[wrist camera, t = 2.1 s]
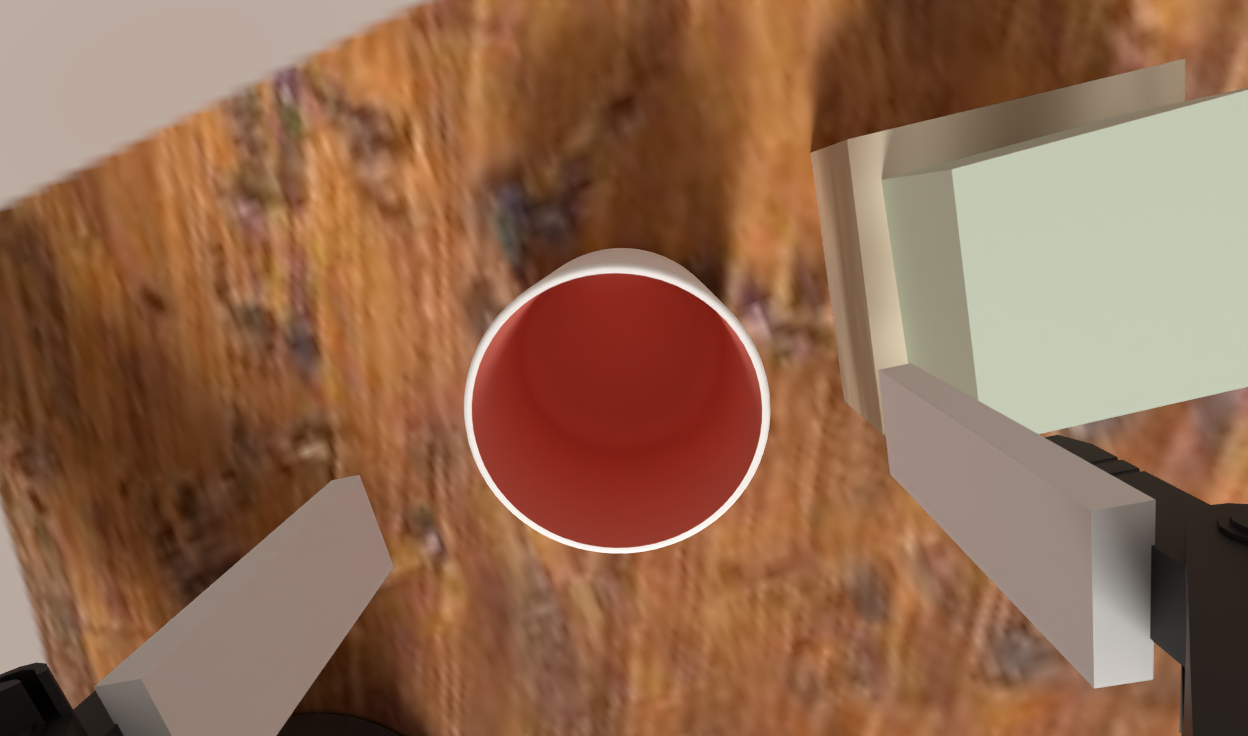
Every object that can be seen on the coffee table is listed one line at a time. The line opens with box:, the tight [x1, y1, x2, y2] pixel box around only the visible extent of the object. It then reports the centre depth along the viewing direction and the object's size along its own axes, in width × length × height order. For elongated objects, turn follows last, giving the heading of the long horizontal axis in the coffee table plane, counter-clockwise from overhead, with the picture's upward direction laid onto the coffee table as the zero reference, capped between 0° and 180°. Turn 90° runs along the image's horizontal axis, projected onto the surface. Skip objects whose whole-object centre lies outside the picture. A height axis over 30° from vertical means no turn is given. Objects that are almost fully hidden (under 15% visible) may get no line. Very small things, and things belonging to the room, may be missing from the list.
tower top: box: [881, 88, 1248, 434], centre depth 20 cm, size 9×9×5 cm
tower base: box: [810, 59, 1185, 435], centre depth 25 cm, size 12×12×5 cm
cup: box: [464, 248, 770, 553], centre depth 23 cm, size 10×10×10 cm
